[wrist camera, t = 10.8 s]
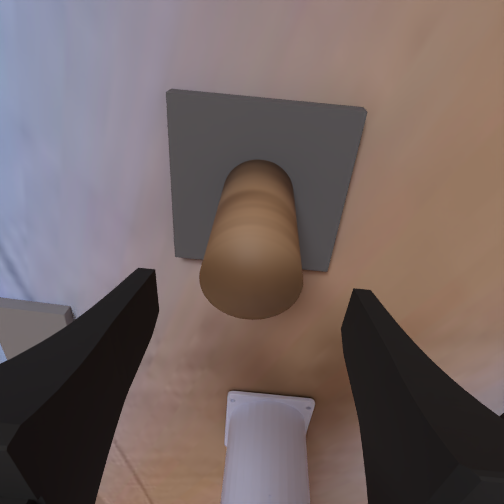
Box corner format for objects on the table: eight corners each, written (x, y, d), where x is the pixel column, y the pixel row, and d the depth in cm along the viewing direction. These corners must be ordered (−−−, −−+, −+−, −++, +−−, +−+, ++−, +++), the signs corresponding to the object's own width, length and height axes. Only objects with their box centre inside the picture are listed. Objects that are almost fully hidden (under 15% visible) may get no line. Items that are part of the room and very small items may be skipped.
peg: (287, 226, 21) (294, 324, 15) (222, 220, 21) (199, 314, 15) (298, 163, 19) (311, 244, 13) (224, 155, 19) (199, 233, 13)
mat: (325, 262, 24) (327, 271, 23) (178, 248, 24) (174, 256, 23) (363, 107, 18) (367, 111, 17) (170, 88, 18) (166, 92, 18)
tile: (73, 301, 28) (87, 365, 33) (-3, 292, 28) (22, 357, 33) (64, 314, 27) (80, 379, 31) (-16, 305, 27) (12, 371, 31)
